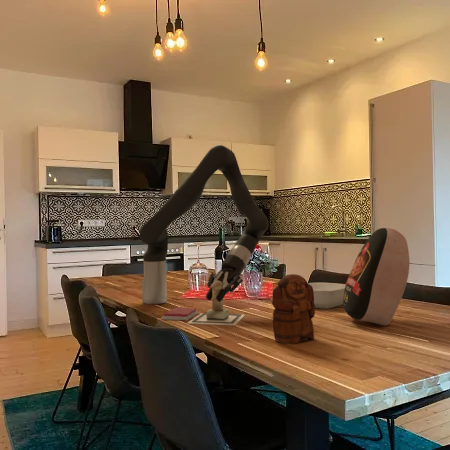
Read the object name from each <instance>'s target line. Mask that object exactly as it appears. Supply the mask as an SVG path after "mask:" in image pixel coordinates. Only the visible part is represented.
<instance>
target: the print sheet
mask: <svg viewBox="0 0 450 450" xmlns="http://www.w3.org/2000/svg"><path fill="white" fill-rule="evenodd" d="M228 315H229V317H228V318H227V319H225V320H208V319H207V312H205V313H204V312H203V313H202V312H201V313H199V314H197V315H196V316H194V318H191V320H188V322H187V323H186V324H187V325H209V326H211V325H212V326H235V327H236V325H238V324H239V323H240V322H241V321H242V320H243V318H244V317H245V316H246V314H239V313H238V314H237V313H228Z"/></svg>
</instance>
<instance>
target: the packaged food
mask: <svg viewBox="0 0 450 450" xmlns="http://www.w3.org/2000/svg"><path fill="white" fill-rule="evenodd" d="M409 273H410V252H409V245H408V240H407V238H406V237H405V236H404V235H403V234H402V233H401V232H399V231H398V230H396V229H394V228H390V227H382V228H378V229H376V230H375V231H374V232H373V233H371V235H370V236H369V237H368V238H367V240H366V241H365V243H364V244H363V246H362V247H361V249H360V251H359V252H358V255H357V257H356V258H355V261H354V263H353V265H352V268H351V270H350V273H349V274H348V277H347V280H346V282H345V284H346V286H345V290H344V296H343V310H344V312H345V313H346V314H347V315H348V316H349V317H350V318H351V319H354V320H356V321H358V322H359V321H361V322H367V323H371V324H374V325H378V326H379V325H380V326H387V325H388V324H390V322H391V321H392V319H393V318H394V316H395V315H396V311H397V310H398V308H399V306H400V302H401V300H402V298H403V295H404V293H405V289H406V286H407V283H408V279H409Z"/></svg>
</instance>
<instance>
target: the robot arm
mask: <svg viewBox="0 0 450 450" xmlns="http://www.w3.org/2000/svg"><path fill="white" fill-rule="evenodd" d="M216 171H220V172H221V174H223V176H224V177H225V179H226V181H227V183H228V185H229V188H230V189H229V190H230V195H231V197H232V198H231V199H232V200H233V202H234V204H235V207H236V209H237V211H238V213H239V214H240V216H241V217H244V218H245V217H246V218H247V219H248V223H247V225H246V227H245V228H244V229H243V232H242V233H241V235H240V236H239V238H238V239H237V241H236V242H235V244H234V245H233V247H232V248H231V249H230V250H229V252H228V254H227V255H226V256H225V258H224V260H223V261H222V263H221V265H220V267H221V269H220V270H219V271H217V273H214V272H211V273H210V275H209V278H208V282H207V284H206V286H207V287H208V288H209V290H208V291H207V293H206V294H205V298H206V299H207V301H211V300H212V284H213V282H215V281H221V282H222V283H223V286H222V289H221V290H220V291H219V293H218V295H217V296H216V300H217V301H218V302H221V300H222V299H223V300H224V298H225V296H226V294H228V293H231V294H233V292H234V291H235V290H236V289H237V288H238V286H240V284H241V283H242V282H243V278H242V277H241V275H242V273H243V271H244V270H245V268H246V267H247V264H248V263H249V261H250V259H251V257H252V255H253V253H254V251H255V250H256V248H257V245H258V243H259V242H260V240H261V239H262V237H263V236H264V234H265V233H266V232H267V230H268V229H269V223H270V222H269V220H268V217H267V216H266V214H265V213H264V212H263V211H262V209H260V207H259V206H258V204H256V201H255V199H254V198H253V196H252V193H251V191H249V188H248V187H247V186H248V185H247V184H246V182H245V180H244V177H243V175H242V172H241V170H240V166H239V163H238V159H237V157H236V154H235V153H234V151H232V149H230V148H229V147H227V146H225V145H222V144H216V145H214V146H212V147H211V148H210V149H209V150H207V152H206V153H205V155H204V156H203V158H202V159H201V160H200V162H199V164H198V165H197V166H196V167H195V169H194V170H193V171H192V172H191V173H190V174H189V175H188V176H187V178H186V179H185V180H184V181H183V182H182V184H180V185H179V186H178V188H177V189H176V190H175V191H174V192H173V193H172V195H171V196H170V197H169V198H168V200H167V201H166V202H165V203H164V204H163V205H162V206H161V208H160V209H159V210H158V211H157V212H156V213H155V214H153V216H151V217H150V219H148V220H147V221H146V222H145V223H144V224H143V225H142V226H141V227H140V229H139V239H140V242H142V243H143V244H144V245H147V249H146V251H145V253H144V254H143V256H142V257H143V279H142V280H141V294H142V295H141V301H142V302H141V303H142V304H148V305H159V304H165V303H167V300H168V299H167V255H168V251H169V250H168V249H169V248H168V247H169V234H168V227H169V226H170V225H171V224H172V223H174V222H175V221H176V220H178V219H179V218H181V217H182V216H184V215H185V214H186V213H188V212H189V211H190V210H191V209H192V208H193V207H194V206H195V204H197V202H198V201H199V200H200V199H201V197H202V194H203V192H204V190H205V186H206V184H207V182H208V180H210V178H211V177H212V176H213V175H214V174H215V173H216Z"/></svg>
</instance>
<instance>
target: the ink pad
mask: <svg viewBox="0 0 450 450" xmlns="http://www.w3.org/2000/svg"><path fill="white" fill-rule="evenodd" d="M198 315H199V310H198V309H197V308H196V307H174V308H172V309H169V310H167V311H166V312H164V313H163V315H162V317H161V320H163V321H164V320H165V321H190V319H191V320H192V319H193V317H194V318H195V317H196V316H198Z"/></svg>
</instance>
